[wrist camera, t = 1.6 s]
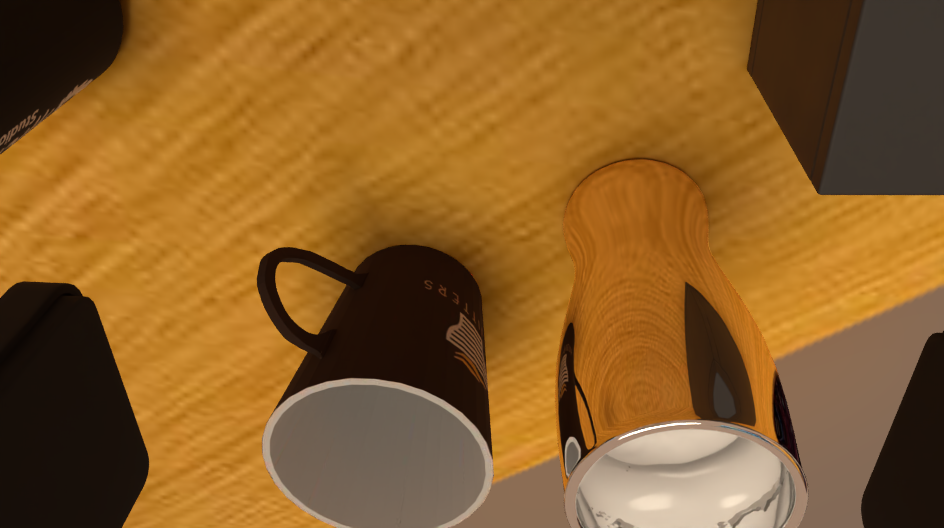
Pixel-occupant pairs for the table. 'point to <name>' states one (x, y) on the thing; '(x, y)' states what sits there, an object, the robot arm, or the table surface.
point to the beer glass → (665, 370)
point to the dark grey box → (856, 90)
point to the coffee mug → (384, 394)
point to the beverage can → (51, 56)
